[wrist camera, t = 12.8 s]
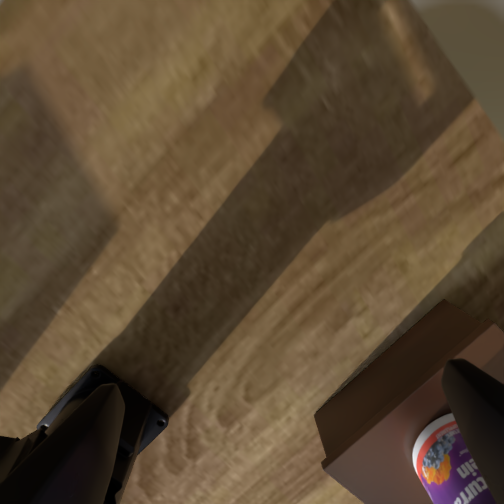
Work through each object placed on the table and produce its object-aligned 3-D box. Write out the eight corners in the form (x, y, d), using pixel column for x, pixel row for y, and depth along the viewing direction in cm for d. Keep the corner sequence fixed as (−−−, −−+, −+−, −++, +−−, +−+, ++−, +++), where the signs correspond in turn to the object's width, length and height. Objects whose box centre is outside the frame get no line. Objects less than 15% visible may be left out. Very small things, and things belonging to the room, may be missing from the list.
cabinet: (400, 493, 26) (433, 559, 22) (307, 415, 24) (322, 470, 20) (533, 385, 24) (599, 434, 20) (444, 292, 22) (495, 322, 18)
